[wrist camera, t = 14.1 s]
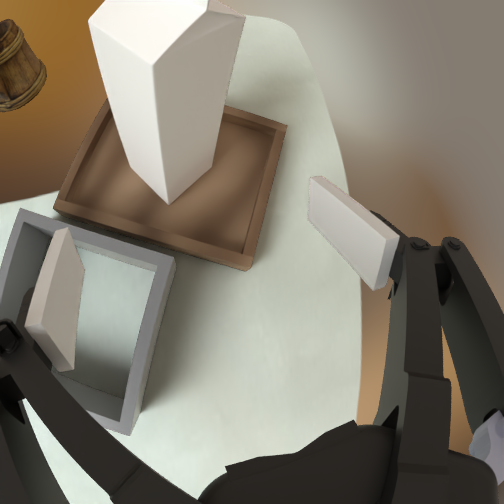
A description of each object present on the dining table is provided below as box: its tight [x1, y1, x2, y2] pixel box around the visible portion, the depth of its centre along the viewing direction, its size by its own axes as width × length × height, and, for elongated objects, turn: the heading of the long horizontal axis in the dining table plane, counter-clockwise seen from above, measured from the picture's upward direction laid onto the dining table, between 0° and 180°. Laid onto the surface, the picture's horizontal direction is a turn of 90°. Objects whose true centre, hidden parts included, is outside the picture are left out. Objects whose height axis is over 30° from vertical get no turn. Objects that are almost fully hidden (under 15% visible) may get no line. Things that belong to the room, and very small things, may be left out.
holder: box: [0, 208, 177, 436], centre depth 23 cm, size 15×15×6 cm
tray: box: [53, 98, 287, 271], centre depth 29 cm, size 20×16×2 cm
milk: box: [88, 0, 246, 205], centre depth 19 cm, size 6×6×22 cm
